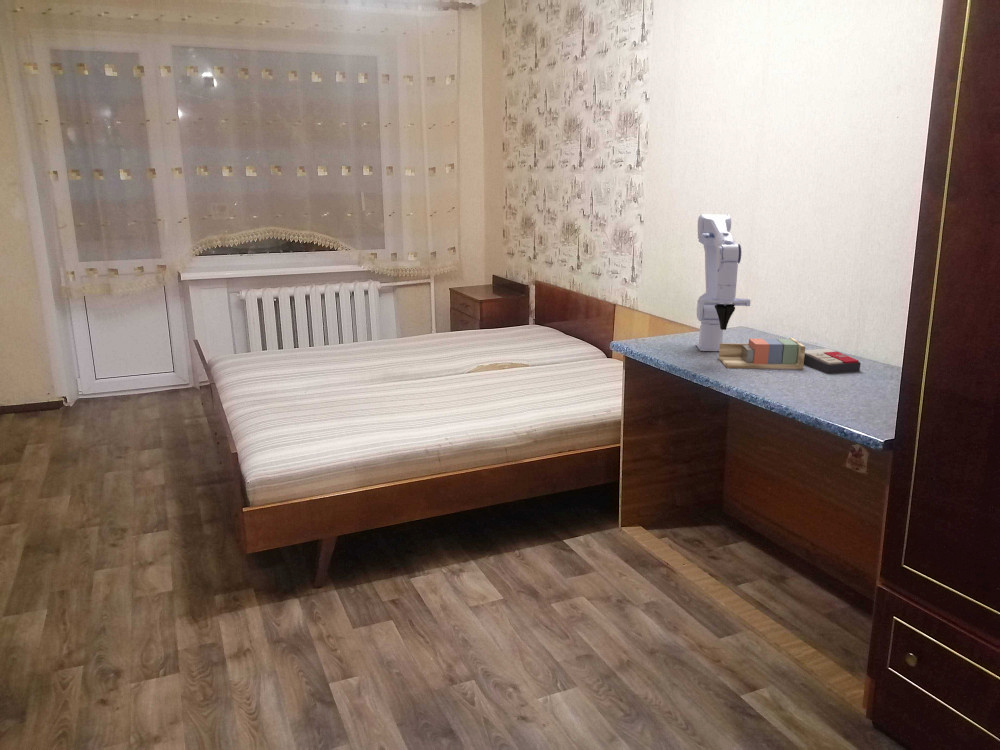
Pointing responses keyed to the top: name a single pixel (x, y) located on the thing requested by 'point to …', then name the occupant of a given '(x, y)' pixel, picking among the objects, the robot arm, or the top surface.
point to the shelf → (732, 359)
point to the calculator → (830, 361)
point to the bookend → (747, 354)
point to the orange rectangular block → (760, 350)
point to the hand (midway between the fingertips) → (723, 329)
